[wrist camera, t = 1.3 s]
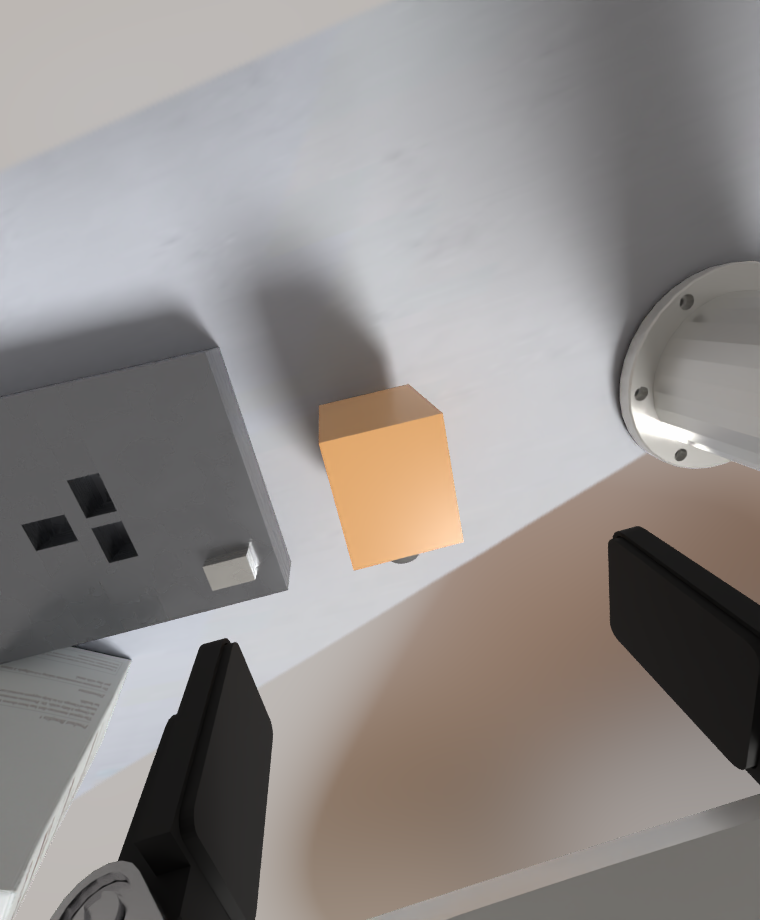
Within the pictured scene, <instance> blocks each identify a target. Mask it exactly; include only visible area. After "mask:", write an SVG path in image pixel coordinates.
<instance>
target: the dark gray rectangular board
mask: <svg viewBox="0 0 760 920" xmlns="http://www.w3.org/2000/svg"><path fill="white" fill-rule="evenodd" d="M290 566H291V561H290V558H289V555H288V552H287V549H286V546H285V543H284V540H283V537H282V534H281V531H280V528H279V525H278V522H277V519H276V516H275V513H274V510H273V507H272V504H271V501H270V498H269V495H268V492H267V489H266V486H265V483H264V480H263V477H262V474H261V471H260V468H259V465H258V462H257V459H256V456H255V453H254V450H253V447H252V444H251V441H250V438H249V435H248V432H247V429H246V426H245V423H244V420H243V417H242V414H241V411H240V409H239V406H238V403H237V400H236V397H235V394H234V391H233V388H232V385H231V382H230V379H229V376H228V373H227V370H226V367H225V364H224V361H223V358H222V355H221V352H220V349H219V347H216V348H212V349H208V350H203V351H199V352H194V353H190V354H186V355H181V356H177V357H173V358H168V359H164V360H159V361H155V362H151V363H146V364H142V365H137V366H133V367H129V368H124V369H120V370H115V371H111V372H107V373H102V374H98V375H94V376H89V377H85V378H80V379H76V380H72V381H67V382H63V383H58V384H54V385H50V386H45V387H41V388H37V389H32V390H28V391H23V392H19V393H15V394H10V395H6V396H1V397H0V665H1V664H4V663H8V662H12V661H16V660H20V659H24V658H28V657H31V656H35V655H39V654H43V653H47V652H51V651H55V650H58V649H62V648H66V647H70V646H74V645H78V644H82V643H85V642H89V641H93V640H97V639H101V638H105V637H109V636H112V635H116V634H120V633H124V632H128V631H132V630H136V629H139V628H143V627H147V626H151V625H155V624H159V623H163V622H166V621H170V620H174V619H178V618H182V617H186V616H190V615H193V614H197V613H201V612H205V611H209V610H213V609H217V608H220V607H224V606H228V605H232V604H236V603H240V602H244V601H247V600H251V599H255V598H259V597H263V596H267V595H271V594H274V593H278V592H282V591H286V590H288V584H289V575H290Z"/></svg>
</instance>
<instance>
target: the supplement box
mask: <svg viewBox="0 0 760 920" xmlns="http://www.w3.org/2000/svg"><path fill="white" fill-rule="evenodd" d="M130 664H131V660H129V659H124V658H119V657H115V656H110V655H106V654H102V653H97V652H93V651H89V650H84V649H80V648H75V647H71V646H70V647H66V648H62V649H58V650H55V651H51V652H47V653H43V654H39V655H35V656H31V657H28V658H24V659H20V660H16V661H12V662H8V663H4V664H1V665H0V920H14V918H15V916H16V914H17V912H18V910H19V908H20V906H21V904H22V902H23V900H24V898H25V896H26V894H27V892H28V890H29V888H30V886H31V884H32V882H33V880H34V878H35V876H36V873H37V871H38V869H39V867H40V865H41V863H42V861H43V859H44V857H45V855H46V853H47V851H48V849H49V847H50V844H51V843H52V840H53V839H54V837H55V834H56V832H57V830H58V829H59V826H60V825H61V823H62V821H63V819H64V817H65V815H66V813H67V811H68V809H69V807H70V805H71V803H72V801H73V799H74V797H75V795H76V793H77V791H78V789H79V787H80V785H81V783H82V781H83V779H84V777H85V775H86V773H87V771H88V769H89V767H90V765H91V763H92V762H93V760H94V758H95V756H96V754H97V752H98V750H99V747H100V745H101V743H102V741H103V739H104V737H105V733H106V730H107V728H108V725H109V722H110V719H111V717H112V714H113V711H114V709H115V706H116V703H117V700H118V698H119V695H120V692H121V689H122V687H123V684H124V681H125V679H126V676H127V673H128V670H129V667H130Z"/></svg>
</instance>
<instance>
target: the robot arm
mask: <svg viewBox="0 0 760 920" xmlns="http://www.w3.org/2000/svg"><path fill="white" fill-rule="evenodd" d="M620 404H621V411H622V416H623V419H624V421H625V424H626V427H627V429H628V431H629V433H630V434H631V436H632V437H633V439H634V440H635V442H636V443H637V444H638V445H639V446H640V447H641V448H642V449H643V450H645V451H646V452H647V453H648V454H650V455H652V456H654V457H656V458H657V459H659V460H662V461H664V462H666V463H669V464H671V465H673V466H677V467H684V468H691V469H695V468H709V467H713V466H717V465H721V464H724V463H727V462H730V461H734V462H737V463H740V464H742V465H745V466H747V467H750V468H753V469H756V470H758V471H760V262H758V261H743V262H733V263H726V264H722V265H718V266H713V267H710V268H707V269H705V270H703V271H701V272H698V273H696V274H694V275H692V276H690V277H689V278H687V279H686V280H684V281H683V282H681V283H680V284H678V285H677V286H675V287H674V288H672V289H671V290H670V291H669V292H668V293H667V294H666V295H665V296H664V297H663V298H662V299H661V300H660V301H659V302H658V303H657V304H656V305H655V306H654V307H653V309H652V310H651V311H650V312H649V314H648V315H647V316H646V318H645V319H644V320H643V322H642V323H641V325H640V327H639V329H638V330H637V332H636V334H635V336H634V337H633V339H632V341H631V344H630V346H629V349H628V352H627V354H626V357H625V360H624V364H623V369H622V374H621V378H620ZM608 561H609V595H610V596H609V598H610V625H611V629H612V631H613V633H614V635H615V636H616V638H617V639H618V641H619V642H620V643H621V644H622V645H623V646H624V647H625V648H626V649H627V650H628V651H629V652H630V654H631V655H632V656H633V657H634V658H635V659H636V660H637V661H638V662H639V663H640V664H641V666H642V667H643V668H644V669H645V670H646V671H647V672H648V673H649V674H650V675H651V676H652V677H653V678H654V680H655V681H656V682H657V683H658V684H659V685H660V686H661V687H662V688H663V689H664V690H665V692H666V693H667V694H668V695H669V696H670V697H671V698H672V699H673V700H674V701H675V702H676V704H677V705H679V707H680V708H681V709H682V710H683V711H684V712H685V713H686V714H687V715H688V717H689V718H690V719H691V720H692V721H693V722H694V723H695V724H696V725H697V726H698V727H699V729H700V730H701V731H702V732H703V733H704V734H705V735H706V736H707V737H708V738H709V739H710V740H711V742H712V743H713V744H714V745H715V746H716V747H717V748H718V749H719V750H720V751H721V752H722V753H723V755H724V756H725V757H726V758H727V759H728V760H729V761H730V762H731V763H732V764H733V765H734V766H736V767H737V768H739V769H741V770H744V769H745V770H746V771H747V772H748V773H749V774H750V775H751V776H752V777H753V778H754V779H755V780H756V781H757V782H758V783H759V784H760V605H758V604H757V603H756V602H754V601H753V600H751V599H750V598H748V597H747V596H745V595H744V594H742V593H741V592H739V591H738V590H736V589H735V588H733V587H731V586H730V585H729V584H727V583H726V582H724V581H722V580H721V579H719V578H718V577H716V576H715V575H713V574H712V573H710V572H709V571H707V570H706V569H704V568H703V567H701V566H700V565H698V564H697V563H695V562H694V561H692V560H691V559H689V558H688V557H686V556H685V555H683V554H682V553H680V552H679V551H677V550H676V549H674V548H673V547H671V546H670V545H668V544H667V543H665V542H664V541H662V540H661V539H659V538H658V537H656V536H655V535H653V534H652V533H650V532H648V531H647V530H646V529H644V528H642V527H639V526H636V527H632V528H629V529H625V530H621V531H618V532H615V533H614V535H613V539H611V540H610V541H609V543H608ZM272 740H273V730H272V724H271V721H270V718H269V716H268V714H267V711H266V709H265V706H264V704H263V702H262V699H261V697H260V695H259V692H258V690H257V687H256V685H255V683H254V680H253V678H252V675H251V673H250V671H249V668H248V666H247V664H246V661H245V659H244V656H243V654H242V652H241V649H240V647H239V645H238V643H237V642H234V643H230V641H229V640H228V639H227V638H224V639H221V640H217V641H213V642H210V643H206V644H203V645H201V646H200V648H199V650H198V653H197V656H196V659H195V662H194V665H193V668H192V671H191V674H190V677H189V680H188V683H187V686H186V689H185V692H184V695H183V698H182V701H181V704H180V707H179V710H178V713H177V714H176V715H173V716H172V717H171V718H170V719H169V720H168V723H167V725H166V727H165V729H164V732H163V735H162V738H161V741H160V744H159V746H158V749H157V752H156V755H155V758H154V760H153V764H152V766H151V769H150V772H149V775H148V778H147V780H146V783H145V786H144V789H143V791H142V794H141V798H140V800H139V803H138V806H137V808H136V811H135V814H134V817H133V820H132V823H131V826H130V828H129V831H128V834H127V837H126V839H125V842H124V845H123V848H122V851H121V854H120V857H119V859H118V861H117V862H112V863H108V864H106V865H105V866H103V867H101V868H99V869H97V870H95V871H93V872H92V873H91V874H90V875H88V876H87V877H86V878H85V879H83V880H82V881H81V882H80V883H78V884H77V886H76V887H75V888H74V889H73V890H72V891H71V892H70V893H69V894H68V895H67V896H66V898H65V899H64V900H63V901H62V903H61V904H60V906H59V907H58V908H57V910H56V911H55V913H54V914H53V916H52V917H51V919H50V920H255V917H256V909H257V899H258V888H259V878H260V868H261V858H262V847H263V837H264V826H265V815H266V805H267V794H268V783H269V773H270V763H271V751H272V742H273V741H272ZM367 920H760V794H758V795H754V796H751V797H748V798H745V799H742V800H738V801H735V802H732V803H729V804H725V805H722V806H719V807H716V808H713V809H709V810H706V811H703V812H700V813H697V814H693V815H691V816H687V817H684V818H681V819H678V820H675V821H671V822H668V823H665V824H662V825H659V826H655V827H652V828H649V829H646V830H643V831H639V832H636V833H633V834H630V835H627V836H624V837H620V838H617V839H614V840H611V841H608V842H605V843H602V844H599V845H596V846H592V847H589V848H586V849H583V850H580V851H577V852H574V853H570V854H567V855H564V856H561V857H558V858H555V859H552V860H549V861H545V862H542V863H539V864H536V865H533V866H530V867H527V868H524V869H521V870H518V871H514V872H511V873H508V874H505V875H502V876H499V877H496V878H493V879H490V880H486V881H483V882H480V883H477V884H474V885H471V886H468V887H465V888H462V889H459V890H456V891H453V892H450V893H446V894H444V895H440V896H437V897H435V898H431V899H428V900H425V901H422V902H419V903H416V904H413V905H410V906H407V907H404V908H401V909H398V910H395V911H392V912H389V913H385V914H382V915H380V916H377V917H373V918H370V919H367Z"/></svg>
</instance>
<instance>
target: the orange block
mask: <svg viewBox="0 0 760 920" xmlns="http://www.w3.org/2000/svg"><path fill="white" fill-rule="evenodd" d="M319 446H320V450H321V453H322V457H323V461H324V464H325V468H326V472H327V475H328V479H329V482H330V486H331V490H332V493H333V497H334V501H335V504H336V508H337V511H338V515H339V519H340V522H341V526H342V529H343V533H344V537H345V540H346V544H347V548H348V551H349V555H350V558H351V562H352V566H353V569H354V570H358V569H362V568H366V567H370V566H374V565H377V564H381V563H385V562H389V561H392V562H394V563H398V564H403V563H408V562H411V561H413V560H414V559H416V558H417V556H418V555H419V554H420V553H424V552H428V551H431V550H435V549H439V548H443V547H447V546H451V545H455V544H459V543H462V542H464V541H463V535H462V529H461V523H460V517H459V510H458V504H457V498H456V492H455V486H454V480H453V474H452V468H451V462H450V456H449V450H448V443H447V437H446V431H445V425H444V419H443V413H442V412H441V411H439V410H438V409H437V408H436V407H435V406H434V405H432V404H431V403H430V402H429V401H428V400H427V399H425V398H424V397H423V396H422V395H421V394H419V393H418V392H417V391H416V390H415V389H414V388H412V387H411V386H410V385H409V384H407V385H403V386H398V387H394V388H390V389H386V390H382V391H377V392H373V393H369V394H365V395H361V396H356V397H352V398H348V399H344V400H340V401H335V402H331V403H327V404H323V405H319Z"/></svg>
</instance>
